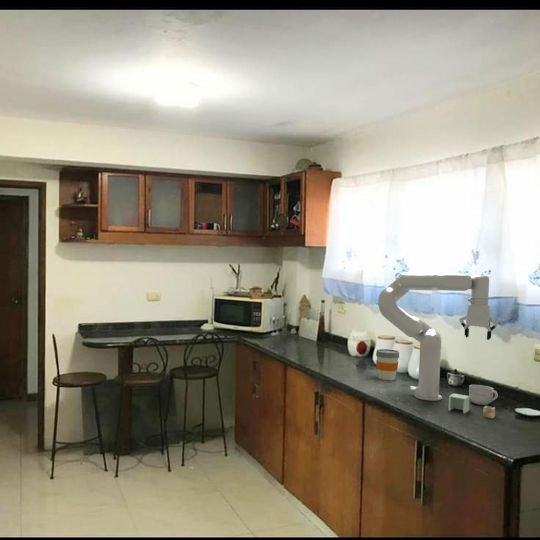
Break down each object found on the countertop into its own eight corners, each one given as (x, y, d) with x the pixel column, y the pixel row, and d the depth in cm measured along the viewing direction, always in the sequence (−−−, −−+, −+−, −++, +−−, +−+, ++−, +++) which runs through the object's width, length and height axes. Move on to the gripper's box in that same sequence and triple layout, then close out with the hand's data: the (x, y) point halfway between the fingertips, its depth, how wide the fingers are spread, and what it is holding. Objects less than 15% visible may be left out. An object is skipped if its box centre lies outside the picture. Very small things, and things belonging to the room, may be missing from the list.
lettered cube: (482, 416, 246) (483, 407, 246) (484, 414, 249) (485, 405, 249) (492, 418, 244) (493, 409, 244) (494, 416, 247) (495, 407, 247)
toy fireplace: (448, 410, 254) (449, 396, 253) (452, 407, 259) (453, 393, 259) (464, 413, 250) (465, 398, 249) (468, 410, 255) (469, 396, 255)
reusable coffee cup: (394, 381, 307) (395, 354, 306) (371, 378, 313) (372, 351, 312) (401, 377, 318) (402, 351, 317) (379, 374, 324) (380, 348, 323)
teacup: (463, 401, 271) (464, 384, 271) (481, 399, 275) (482, 383, 275) (484, 409, 258) (485, 391, 258) (503, 407, 262) (504, 390, 262)
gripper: (458, 300, 269) (456, 337, 270) (497, 303, 260) (495, 341, 260) (462, 299, 275) (460, 335, 276) (500, 303, 266) (498, 339, 266)
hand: (477, 338), depth 268 cm, fingers open, 9 cm apart
